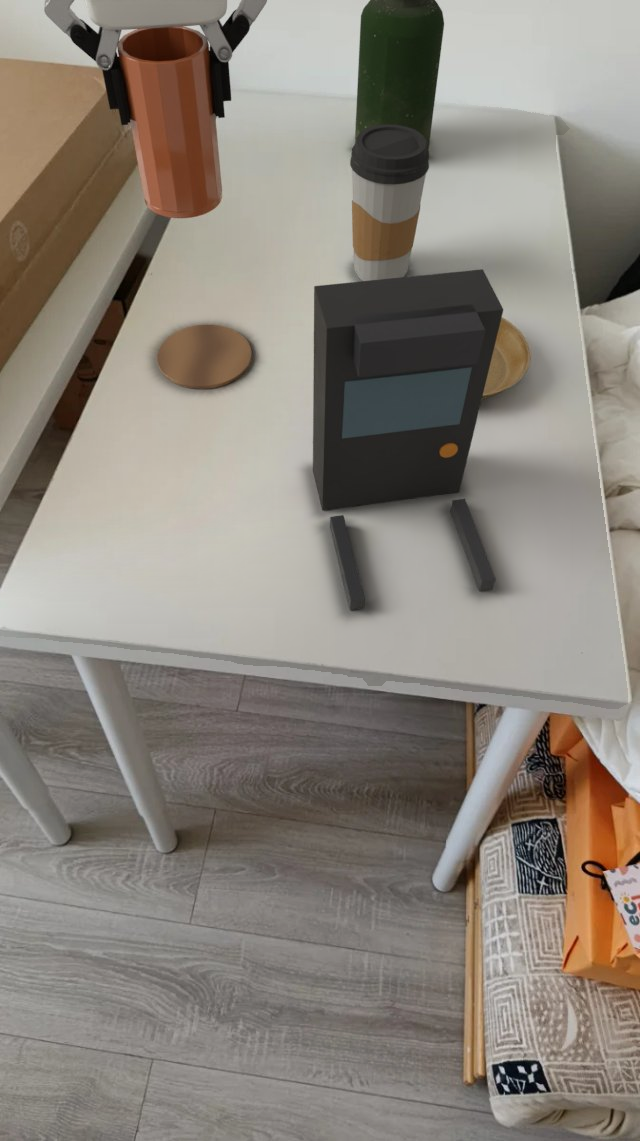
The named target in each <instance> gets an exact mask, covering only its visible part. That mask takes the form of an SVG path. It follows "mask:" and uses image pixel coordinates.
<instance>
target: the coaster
mask: <svg viewBox="0 0 640 1141" xmlns="http://www.w3.org/2000/svg"><path fill="white" fill-rule="evenodd" d="M252 357H253V354H252V348H251V344H250V343H249V341H248V340H247V338H246V337H245V336H244V335H242V334H241V333H240V332H238V331H236V330H234V329H232V328H230V327H227V326H223V325H218V324H198V325H192V326H188V327H184V328H182V329H179V330H177V331H176V332H175V331H174V332H173V333H172V334H170V335H169V336H168V337H167V338H166V339H164V340H163V342H162V343H161V345H160V346H159V348H158V351H157V354H156V359H157V360H156V361H157V366H158V369H159V370H160V372H161V374H162V375H163V376H164V377H165V378H166V379H168V380H169V381H170V382H172V383H174V384H175V385H178V386H181V387H184V388H189V389H195V390H206V389H214V388H218V387H222V386H225V385H228V384H231V383H232V382H234V381H236V380H238V379H239V378H241V377H242V376H243V375H244V374H245V373H246V372H247V370H248V369H249V368H250V365H251V363H252Z"/></svg>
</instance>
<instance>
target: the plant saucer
mask: <svg viewBox="0 0 640 1141" xmlns="http://www.w3.org/2000/svg"><path fill="white" fill-rule="evenodd" d="M531 358H532V355H531V348H530V345H529V343H528V341H527V339H526V337H525V336H524V334H523V333H522V332H521V331H520V330H519V329H518V328H517V327H516V326H515V325H514V324H513V323H512V322H510V321H509V320H507V319H506V318H505V317H502V318H501V322H500V326H499V330H498V334H497V338H496V343H495V347H494V351H493V355H492V359H491V363H490V367H489V371H488V376H487V380H486V384H485V388H484V392H483V396H482V400H483V399H487V398H491V397H493V396H496V395H498V394H501V393H503V392H504V391H506V390H508V389H510V388H511V387H513V386H514V385H516V384H517V383H518V382H520V381H521V379H523V377H524V376H525V375H526V373H527V371H528V370H529V367H530V364H531Z"/></svg>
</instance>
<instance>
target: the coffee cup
mask: <svg viewBox="0 0 640 1141" xmlns="http://www.w3.org/2000/svg"><path fill="white" fill-rule="evenodd" d="M429 160H430V150H428V149H427V147H426V139H425V137H424V136H423V135H422V134H421V133H420V132H418V131H416V130H414V129H412V128H409V127H406V126H401V125H390V124H386V125H377V126H373V127H369V128H367V129H365V130H363V131H362V132H361V133H359V135H358V136H357V139H356V143H355V142H354V145H352V148H351V156H350V160H349V166H350V167H351V179H352V180H351V182H352V183H351V187H352V189H351V190H352V200H351V225H352V227H351V228H352V248H353V269H354V272H355V273H356V275H357V277H358V278H359V279H360V280H361V281H370V280H380V279H390V278H401V277H405V275H407V272H408V270H409V265H410V261H411V255H412V250H413V247H414V243H415V237H416V232H417V226H418V220H419V216H420V212H421V202H422V196H423V192H424V186H425V182H426V174H427V173H428V171H429V169H430V162H429Z"/></svg>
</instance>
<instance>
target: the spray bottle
mask: <svg viewBox="0 0 640 1141" xmlns="http://www.w3.org/2000/svg"><path fill="white" fill-rule="evenodd" d="M359 27H360V28H359V45H358V47H359V48H358V67H357V69H358V70H357V87H356V88H357V89H356V110H355V111H356V112H355V130H354V131H355V132H354V144H355V143H356V139H357V136H358V135H359V133H361V132H362V131H363V130H365V129H367V128H369V127H373V126H377V125H386V124H390V125H401V126H406V127H409V128H412V129H414V130H416V131H418V132H420V133H421V134H422V135H423V136H424V137H425V139H426V147H427V149H428V151H430V150H429V149H430V141H431V134H432V126H433V125H432V124H433V118H434V109H435V102H436V94H437V84H438V76H439V69H440V62H441V53H442V47H443V46H442V44H443V37H444V30H445V29H444V28H445V18H444V12H443V10H442V8H441V7H440V5H439V3H438V2H437V1H436V0H369V1H368V2H367V3H366V5H365V6H364V7H363V9H362V12H361V15H360V26H359Z"/></svg>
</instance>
